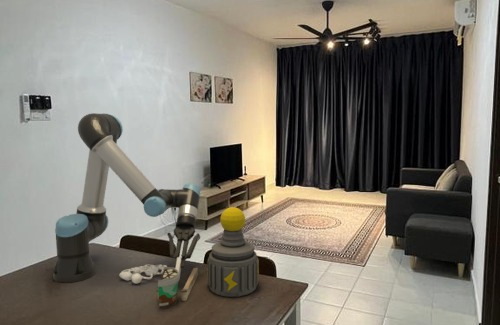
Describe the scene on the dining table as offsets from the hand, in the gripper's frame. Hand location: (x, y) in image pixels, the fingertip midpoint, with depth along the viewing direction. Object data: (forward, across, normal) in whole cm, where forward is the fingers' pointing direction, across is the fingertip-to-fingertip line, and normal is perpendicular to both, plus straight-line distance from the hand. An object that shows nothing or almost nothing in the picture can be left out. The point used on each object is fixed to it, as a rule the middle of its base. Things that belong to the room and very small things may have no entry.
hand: (177, 275), depth 140 cm
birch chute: (+2, 0, -5) cm, 6 cm away
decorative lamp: (+1, -20, -7) cm, 21 cm away
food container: (+10, 0, +3) cm, 11 cm away
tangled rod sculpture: (-4, +17, -13) cm, 22 cm away
